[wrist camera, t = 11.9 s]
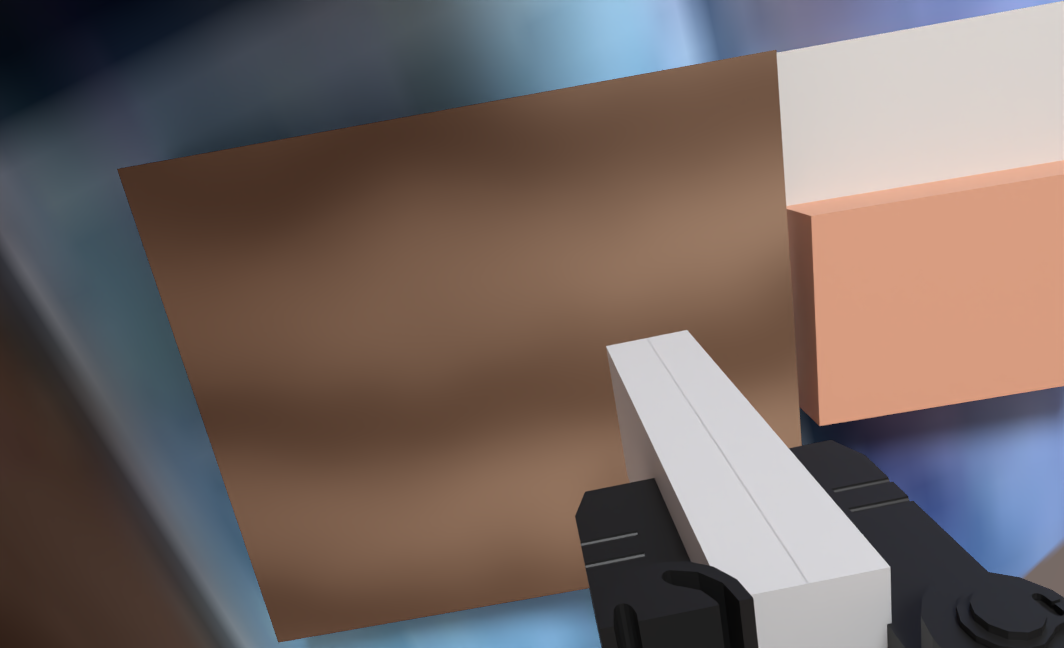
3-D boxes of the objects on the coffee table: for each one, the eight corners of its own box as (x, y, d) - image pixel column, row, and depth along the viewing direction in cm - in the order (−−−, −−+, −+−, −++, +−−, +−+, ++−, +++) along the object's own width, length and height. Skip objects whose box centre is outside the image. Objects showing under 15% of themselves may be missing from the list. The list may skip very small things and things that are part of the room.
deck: (166, 163, 19) (117, 169, 16) (740, 59, 19) (776, 50, 16) (302, 587, 23) (278, 642, 20) (775, 504, 23) (808, 549, 20)
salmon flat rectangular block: (790, 398, 21) (819, 426, 19) (780, 206, 19) (811, 215, 18) (1076, 351, 21) (1134, 374, 19) (1091, 155, 19) (1156, 158, 17)
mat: (740, 59, 19) (744, 58, 18) (1212, -26, 18) (1224, -29, 18) (767, 394, 21) (770, 398, 21) (1176, 321, 21) (1185, 324, 21)
